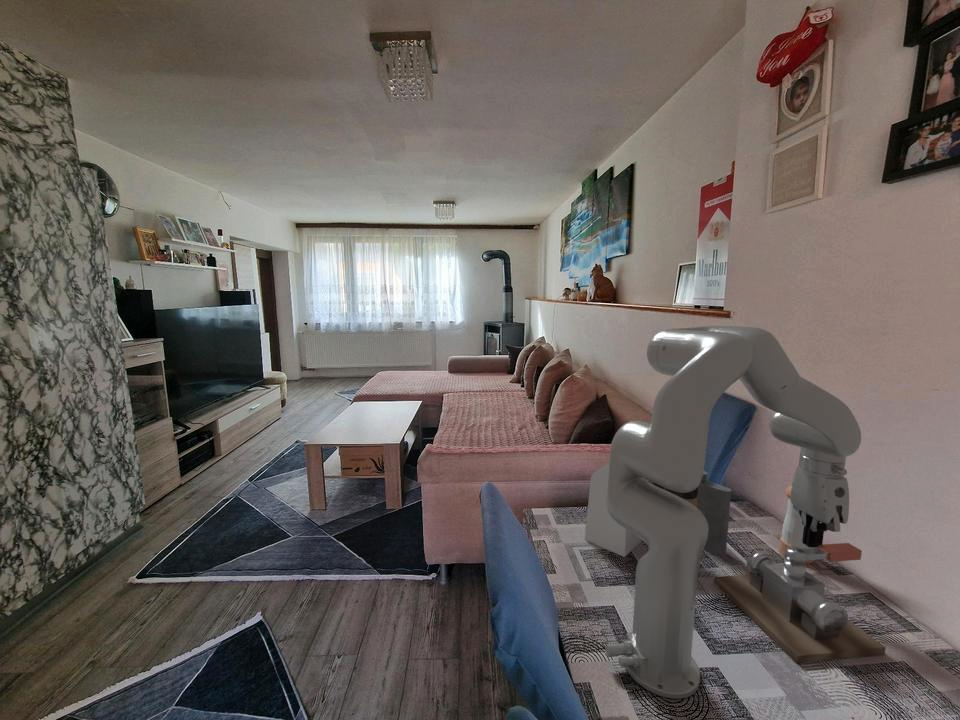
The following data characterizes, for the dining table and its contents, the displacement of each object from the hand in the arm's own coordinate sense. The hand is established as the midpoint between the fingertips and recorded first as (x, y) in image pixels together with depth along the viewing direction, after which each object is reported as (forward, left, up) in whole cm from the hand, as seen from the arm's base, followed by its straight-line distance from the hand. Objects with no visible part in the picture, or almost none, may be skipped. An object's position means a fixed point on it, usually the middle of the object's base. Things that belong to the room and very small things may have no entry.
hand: (811, 545), depth 90 cm
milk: (-33, +26, -12) cm, 44 cm away
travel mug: (-21, +16, -12) cm, 29 cm away
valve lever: (-3, -5, 0) cm, 6 cm away
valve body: (-9, -5, -10) cm, 15 cm away
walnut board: (-9, -5, -12) cm, 16 cm away
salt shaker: (+11, +14, -12) cm, 22 cm away
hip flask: (-11, +23, -12) cm, 28 cm away
